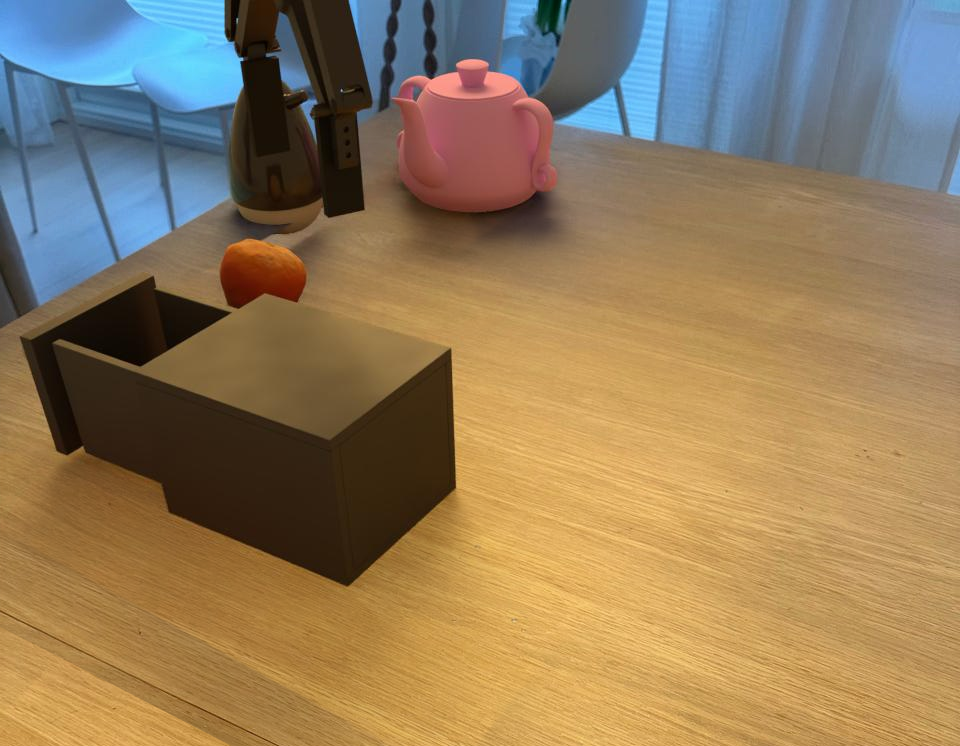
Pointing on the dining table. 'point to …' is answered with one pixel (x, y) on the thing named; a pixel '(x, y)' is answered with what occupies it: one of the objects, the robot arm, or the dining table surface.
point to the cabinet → (302, 433)
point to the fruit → (260, 273)
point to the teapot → (473, 140)
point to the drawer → (110, 366)
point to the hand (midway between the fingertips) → (306, 181)
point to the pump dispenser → (276, 170)
